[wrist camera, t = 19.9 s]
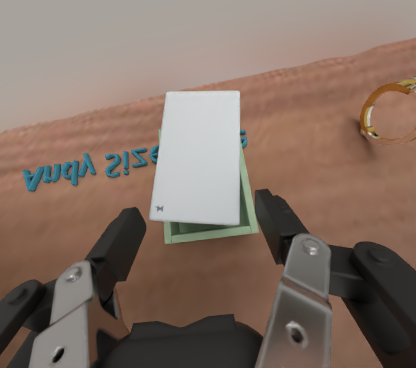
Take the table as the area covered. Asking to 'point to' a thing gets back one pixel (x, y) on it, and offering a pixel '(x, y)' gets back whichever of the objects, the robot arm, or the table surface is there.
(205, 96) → the cosmetics box
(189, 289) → the table surface
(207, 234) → the holder
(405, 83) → the ring
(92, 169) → the nameplate
